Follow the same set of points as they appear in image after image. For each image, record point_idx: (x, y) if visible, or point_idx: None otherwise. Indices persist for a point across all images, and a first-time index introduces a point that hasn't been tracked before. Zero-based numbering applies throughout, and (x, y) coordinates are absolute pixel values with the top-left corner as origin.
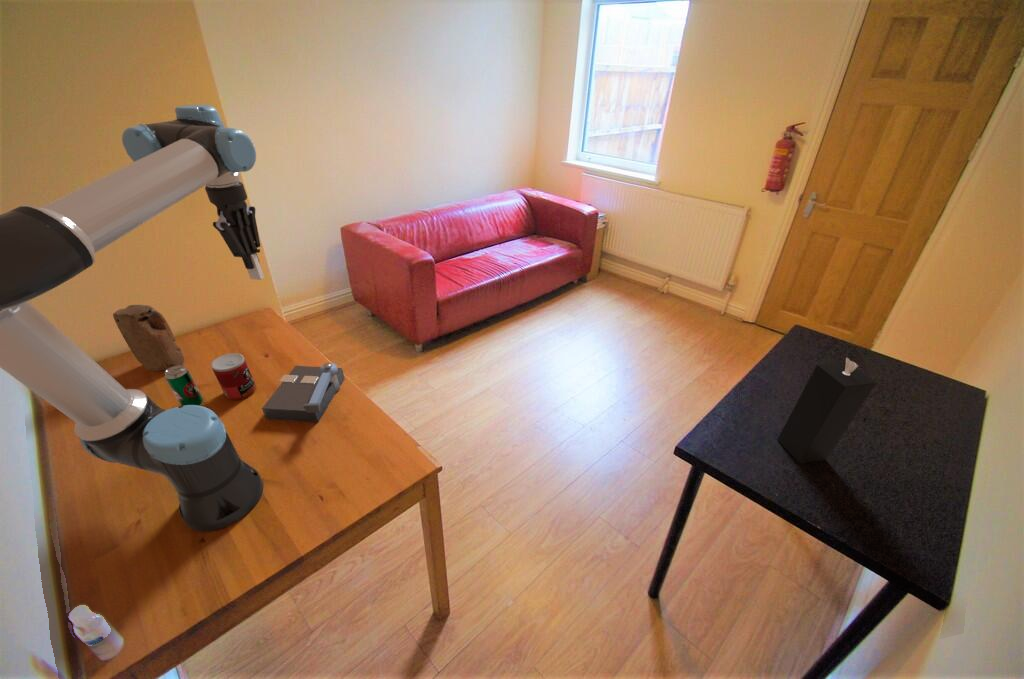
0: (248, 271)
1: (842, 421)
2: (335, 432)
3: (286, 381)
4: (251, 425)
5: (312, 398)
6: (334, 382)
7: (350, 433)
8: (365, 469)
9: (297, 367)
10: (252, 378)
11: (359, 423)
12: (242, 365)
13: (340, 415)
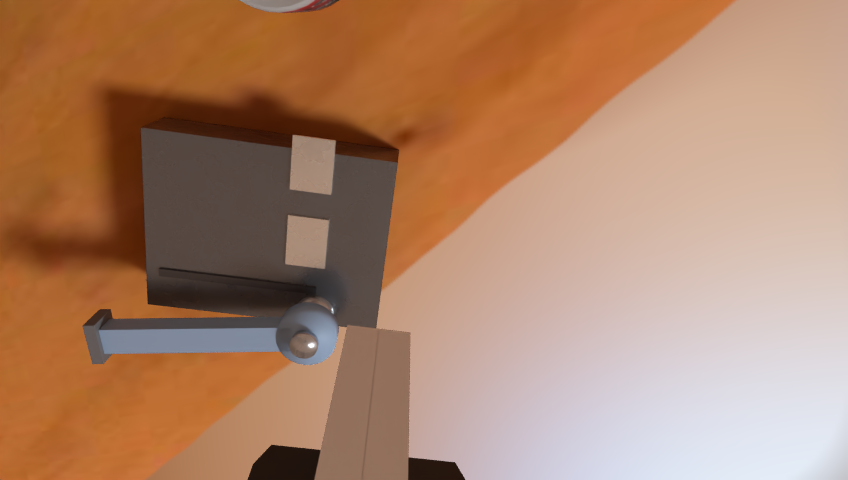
0: (337, 386)
1: None
2: None
3: (292, 164)
4: (130, 75)
5: (130, 335)
6: None
7: (135, 373)
8: (22, 429)
9: (385, 174)
10: (320, 7)
11: (176, 387)
12: (267, 11)
13: None
